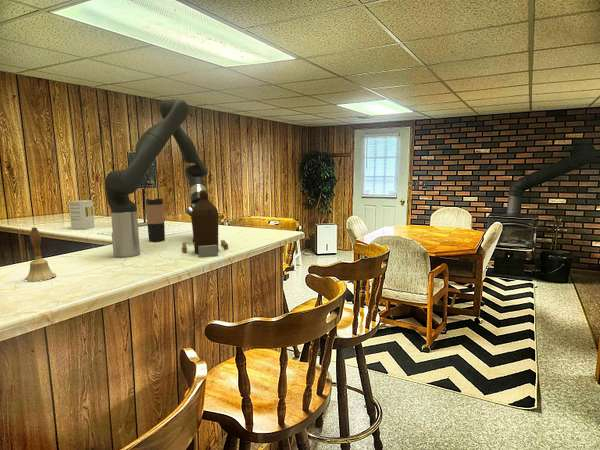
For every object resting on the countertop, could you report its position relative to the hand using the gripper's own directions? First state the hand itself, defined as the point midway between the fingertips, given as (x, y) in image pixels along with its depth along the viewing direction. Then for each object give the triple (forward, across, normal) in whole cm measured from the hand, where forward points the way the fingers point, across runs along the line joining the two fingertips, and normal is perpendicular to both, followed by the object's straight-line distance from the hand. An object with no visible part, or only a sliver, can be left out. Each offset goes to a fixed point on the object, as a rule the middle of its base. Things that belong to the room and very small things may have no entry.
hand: (201, 225), depth 166 cm
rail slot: (+12, 0, +1) cm, 12 cm away
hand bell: (+33, -52, -18) cm, 64 cm away
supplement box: (-54, -64, +67) cm, 107 cm away
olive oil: (+18, 0, -4) cm, 18 cm away
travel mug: (-8, -20, +21) cm, 30 cm away
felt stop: (+23, 0, -10) cm, 26 cm away
